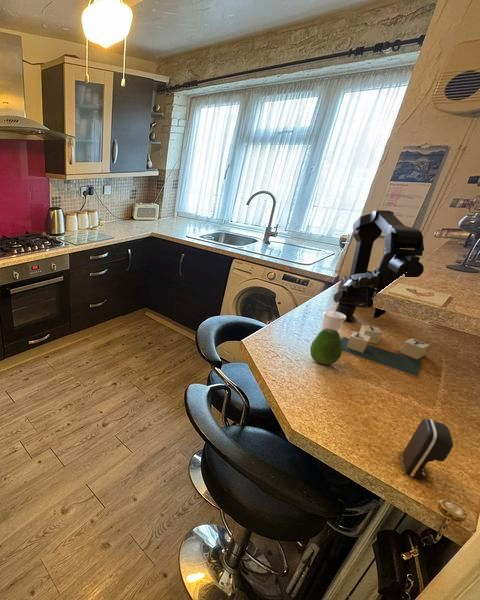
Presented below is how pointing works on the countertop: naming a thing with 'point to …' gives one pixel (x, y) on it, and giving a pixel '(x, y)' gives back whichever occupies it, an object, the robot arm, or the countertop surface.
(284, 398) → the countertop surface
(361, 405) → the countertop surface
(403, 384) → the countertop surface
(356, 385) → the countertop surface
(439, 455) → the battery charger
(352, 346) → the tile
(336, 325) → the smoothie
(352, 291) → the robot arm
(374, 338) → the tile
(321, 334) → the avocado
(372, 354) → the word mat
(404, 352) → the tile
